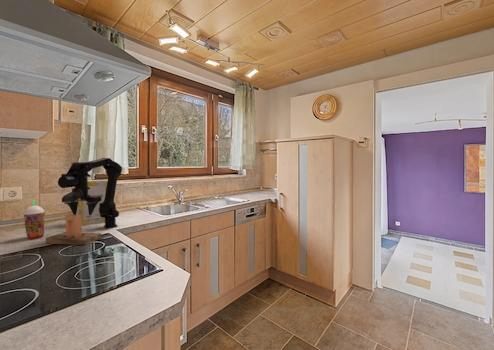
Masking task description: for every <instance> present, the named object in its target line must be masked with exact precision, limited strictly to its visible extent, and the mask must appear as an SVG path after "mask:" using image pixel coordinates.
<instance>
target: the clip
mask: <svg viewBox="0 0 494 350" xmlns="http://www.w3.org/2000/svg"><path fill="white" fill-rule="evenodd" d="M64 218H65V221H64V222H65V232H66V237H71V236H74V238H77V237H80V236H82V233H83V231H82V226H81V215H78V214H76V215H74V214H68V215H65V216H64Z"/></svg>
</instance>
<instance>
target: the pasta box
mask: <svg viewBox="0 0 494 350" xmlns="http://www.w3.org/2000/svg"><path fill="white" fill-rule="evenodd" d="M107 182H108V179H89V180H88V187H90V189H88V195H90V197H91V196H100V197H101V201H99V203H98V204H97V205H96V207H95V209H94V211H93V213H92V215H89V211H88V205H87V204H86V203H87V202H86V201H78V207H77V215H81V227H83V226H84V227H85V226H90V225H97V224H105V217H101V215H100V213H99V210H98V209H99V204H100V203H103V201H104V200H105V194H106V188H107ZM79 199H80V198H79Z"/></svg>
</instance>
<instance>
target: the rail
mask: <svg viewBox="0 0 494 350" xmlns="http://www.w3.org/2000/svg"><path fill="white" fill-rule="evenodd" d="M100 239H102V233H99V232H97V233H96V232H82V236H80V237H77V238H74V236H71V237H66V231H62V232H61V233H58V234H53V235H52V236H48V237H45V243H46V244H55V245H57V244H58V245H77V246H78V245H79V246H86V245H88V244H91V243H93V242H96V241H98V240H100Z"/></svg>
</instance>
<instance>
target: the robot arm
mask: <svg viewBox="0 0 494 350" xmlns="http://www.w3.org/2000/svg"><path fill="white" fill-rule="evenodd" d="M101 167H103V169H104V170H105V174H106V176H107V180H108V182H107V188H106V194H105V200H104V201H103V203H100V204H99V209H98V210H99V213H100V215H101V217H105V223H104V225H103V227H104V229H111V228H116V227H118V224H117V223H116V222H117V221H116V218H118V217H119V215H120V212H119V210H117V207H116V206H117V205H116V203H115V195H116V191H117V190H116V188H117V181H118V179H119V177H120V176H121V174H122V172H123V167H122V165H121V164H119V163H118V162H117V161H114V160H112V159H111V158H109V157H102V158H98V159H95V160H89V161H85V162H84V161H79V162H78V161H75V162H72V163H71V165H70V168H69V169H68V170H67V172H66V173H62V174H61V176H60V177H59V178H58V180H57V185H58V186H59V188H62V189H66V188H67V189H68V188H71V191H70V192H68V193H66V194H65V195H63V196H62V198H61V203H64V204H66V205H67V206H68V207H69V209H70V210H71V213H72V215H77V214H78V201H86V202H87V203H86V204H87V205H88V211H89V215H92V213H93V211H94V209H95V207H96V205H97V204H98V203H99V201H101V197H100V196H91V197H90V195H88V189H90V187H88V178H91V176H92V175H90V174H89V172H91V171H92V170H93V169H95V168H101ZM73 187H74V188H73ZM79 198H80V199H79Z"/></svg>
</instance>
